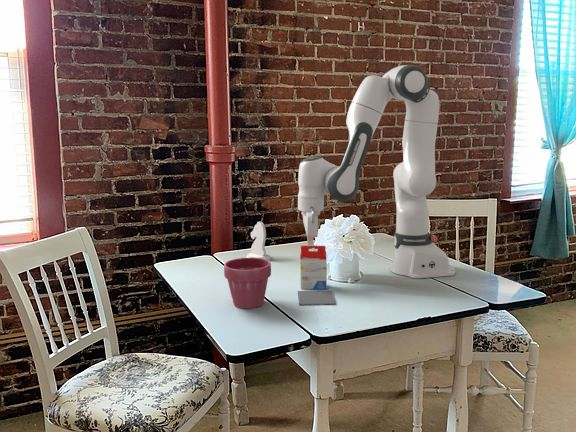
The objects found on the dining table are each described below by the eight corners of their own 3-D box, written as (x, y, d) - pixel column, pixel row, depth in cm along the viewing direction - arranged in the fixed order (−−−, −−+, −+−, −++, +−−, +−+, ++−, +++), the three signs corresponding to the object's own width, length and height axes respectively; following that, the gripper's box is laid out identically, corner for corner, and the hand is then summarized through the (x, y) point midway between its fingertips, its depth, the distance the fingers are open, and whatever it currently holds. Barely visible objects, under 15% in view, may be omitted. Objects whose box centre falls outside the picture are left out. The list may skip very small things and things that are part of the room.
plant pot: (230, 295, 182) (229, 256, 179) (274, 296, 180) (273, 257, 178) (220, 311, 168) (219, 269, 165) (267, 312, 166) (267, 270, 164)
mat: (331, 291, 184) (331, 290, 184) (335, 304, 172) (335, 303, 172) (297, 292, 184) (297, 291, 184) (299, 305, 172) (299, 304, 172)
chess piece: (259, 254, 229) (259, 217, 226) (276, 259, 222) (275, 221, 219) (240, 259, 223) (239, 221, 220) (257, 264, 216) (256, 225, 213)
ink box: (326, 284, 191) (326, 242, 188) (326, 289, 186) (326, 246, 183) (301, 284, 192) (301, 241, 189) (300, 289, 187) (299, 245, 184)
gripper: (322, 210, 184) (321, 252, 187) (317, 199, 204) (317, 237, 207) (303, 210, 184) (302, 251, 187) (300, 199, 204) (299, 237, 207)
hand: (310, 244), depth 197 cm, fingers closed
